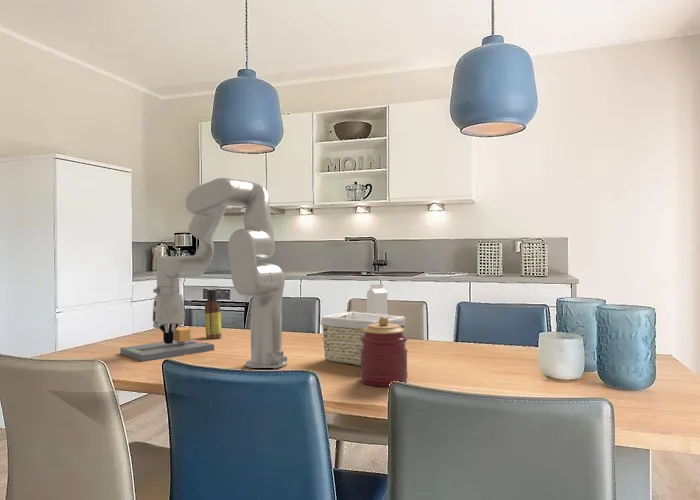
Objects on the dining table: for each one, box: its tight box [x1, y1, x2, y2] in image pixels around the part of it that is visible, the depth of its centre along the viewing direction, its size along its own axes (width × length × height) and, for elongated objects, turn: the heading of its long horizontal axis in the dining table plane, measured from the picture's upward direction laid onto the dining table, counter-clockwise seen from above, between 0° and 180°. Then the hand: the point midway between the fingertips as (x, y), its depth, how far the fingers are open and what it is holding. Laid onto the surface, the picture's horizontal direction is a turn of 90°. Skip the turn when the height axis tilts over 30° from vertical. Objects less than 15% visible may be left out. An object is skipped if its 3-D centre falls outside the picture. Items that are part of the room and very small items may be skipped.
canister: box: [359, 317, 409, 387], centre depth 142 cm, size 13×13×18 cm
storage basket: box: [320, 310, 407, 367], centre depth 168 cm, size 24×16×15 cm
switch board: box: [119, 338, 215, 363], centre depth 183 cm, size 18×26×2 cm
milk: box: [366, 283, 388, 315], centre depth 206 cm, size 6×6×22 cm
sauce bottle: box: [204, 288, 222, 340], centre depth 211 cm, size 7×6×20 cm
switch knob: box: [173, 327, 191, 344], centre depth 187 cm, size 6×4×5 cm, turn 45°
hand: (168, 343), depth 183 cm, fingers closed
